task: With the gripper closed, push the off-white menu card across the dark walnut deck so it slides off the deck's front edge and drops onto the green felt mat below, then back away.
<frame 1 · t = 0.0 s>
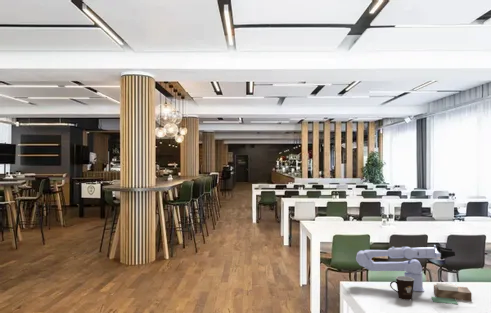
hand: (453, 252, 209), 22 cm above the table, tool horizontal, fingers open, 7 cm apart
mat: (444, 300, 195), on the table
coffee mug: (402, 298, 200), on the table
menu card: (447, 288, 202), point 4 cm above the table, touching deck
deck: (452, 296, 203), on the table
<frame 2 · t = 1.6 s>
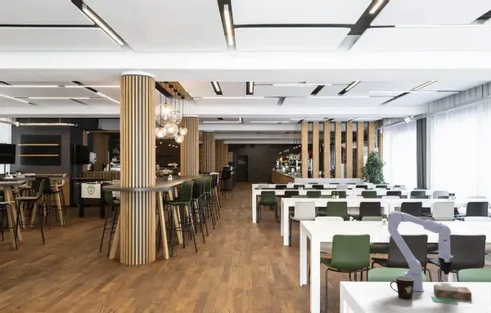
hand: (445, 272, 210), 10 cm above the table, tool pointing down, fingers open, 7 cm apart
nothing on the table moved.
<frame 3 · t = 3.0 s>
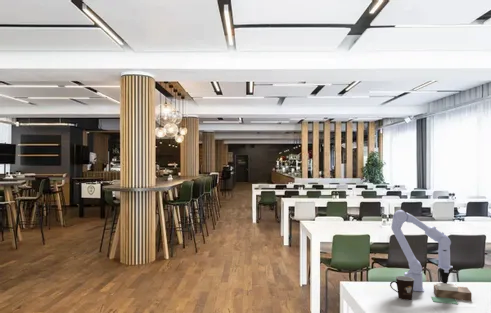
hand: (444, 282, 210), 5 cm above the table, tool pointing down, fingers closed
nothing on the table moved.
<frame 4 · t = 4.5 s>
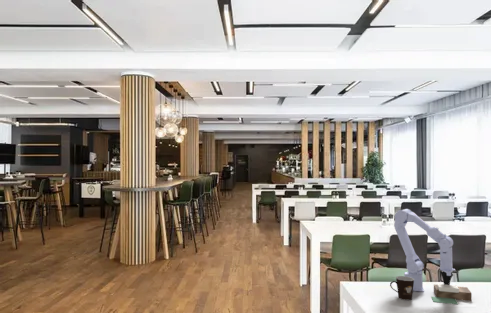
hand: (446, 286, 204), 5 cm above the table, tool pointing down, fingers closed
menu card: (447, 290, 200), point 4 cm above the table, touching deck, gripper
everything else where it was.
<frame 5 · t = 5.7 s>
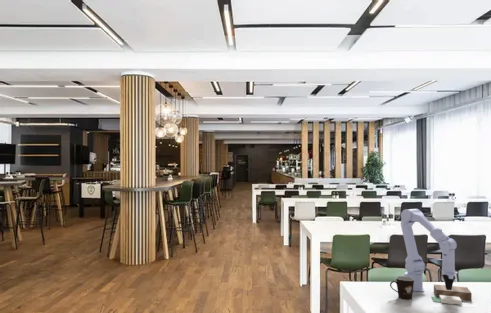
hand: (448, 289, 198), 5 cm above the table, tool pointing down, fingers closed
menu card: (450, 297, 193), point 2 cm above the table, tilted 180°, touching mat
everything else where it was.
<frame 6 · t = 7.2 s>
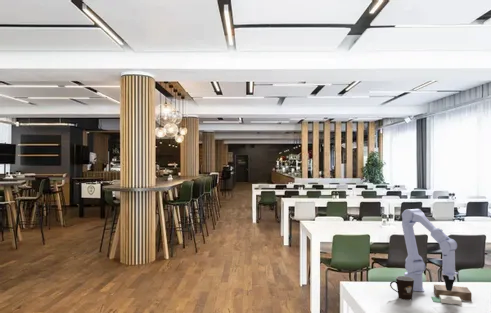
hand: (449, 290, 197), 5 cm above the table, tool pointing down, fingers closed
nothing on the table moved.
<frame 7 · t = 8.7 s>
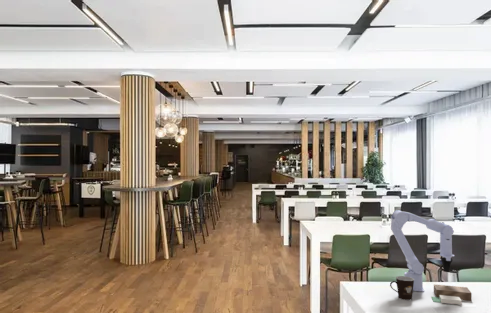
hand: (446, 271, 213), 10 cm above the table, tool pointing down, fingers closed
nothing on the table moved.
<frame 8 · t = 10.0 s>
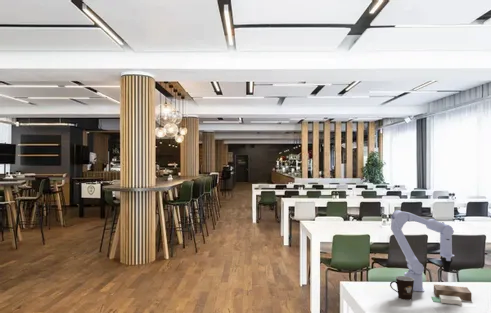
hand: (446, 271, 213), 10 cm above the table, tool pointing down, fingers closed
nothing on the table moved.
at the end: menu card point 2.3 cm above the table; menu card inside the target area (2.8 cm from its centre), point 2.3 cm above the table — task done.
